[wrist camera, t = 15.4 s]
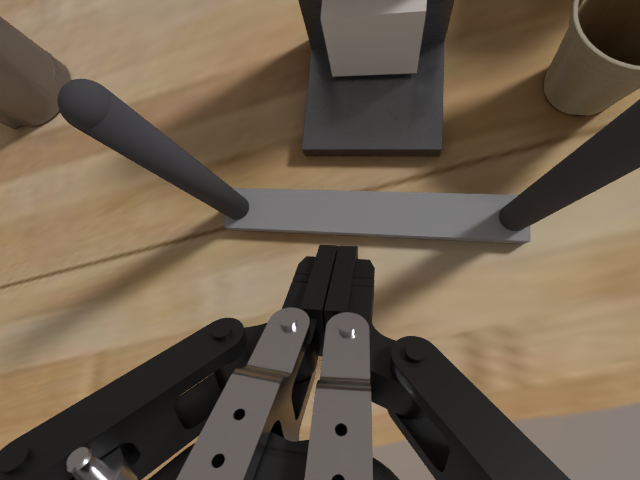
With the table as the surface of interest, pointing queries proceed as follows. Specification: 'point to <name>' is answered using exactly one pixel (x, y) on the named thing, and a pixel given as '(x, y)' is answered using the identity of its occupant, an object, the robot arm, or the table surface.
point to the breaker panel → (376, 98)
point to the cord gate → (358, 206)
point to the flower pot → (596, 57)
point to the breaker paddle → (373, 35)
